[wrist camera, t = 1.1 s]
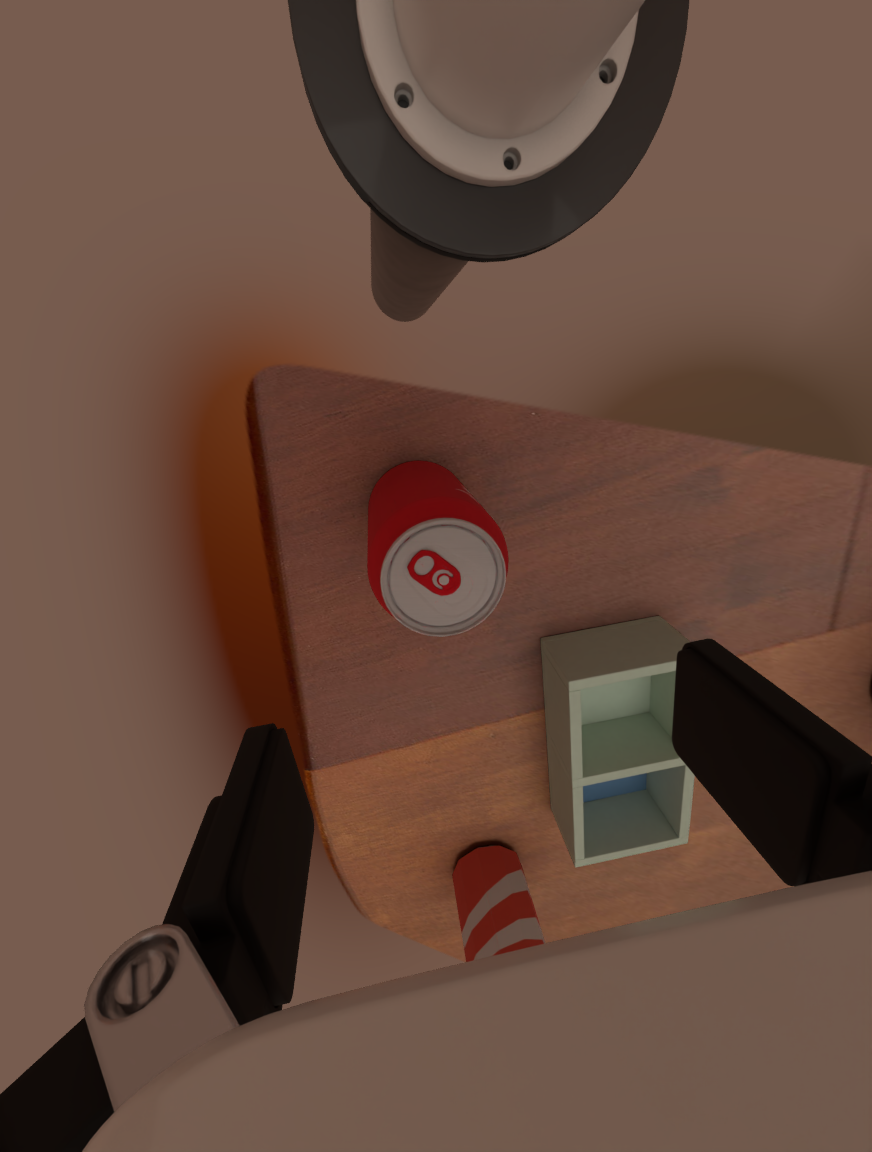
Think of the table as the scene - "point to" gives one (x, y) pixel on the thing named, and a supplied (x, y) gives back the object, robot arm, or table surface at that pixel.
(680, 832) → the grey divided storage box
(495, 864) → the beverage can
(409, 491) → the beverage can
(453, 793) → the table surface
